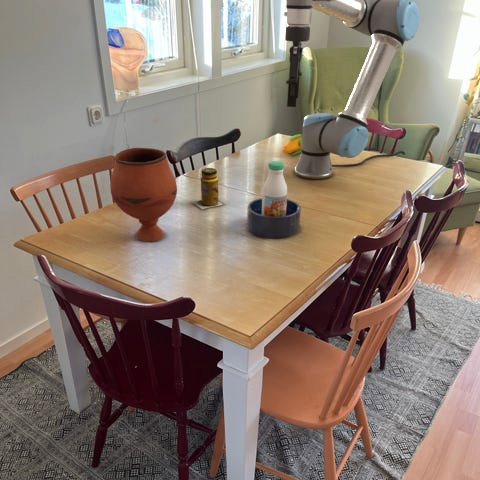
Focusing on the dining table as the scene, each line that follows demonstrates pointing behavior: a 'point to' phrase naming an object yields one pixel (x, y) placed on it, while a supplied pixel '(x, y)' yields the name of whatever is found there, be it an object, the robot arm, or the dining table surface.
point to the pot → (273, 221)
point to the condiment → (208, 189)
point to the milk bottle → (274, 191)
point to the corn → (293, 145)
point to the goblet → (144, 188)
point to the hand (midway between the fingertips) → (292, 102)
